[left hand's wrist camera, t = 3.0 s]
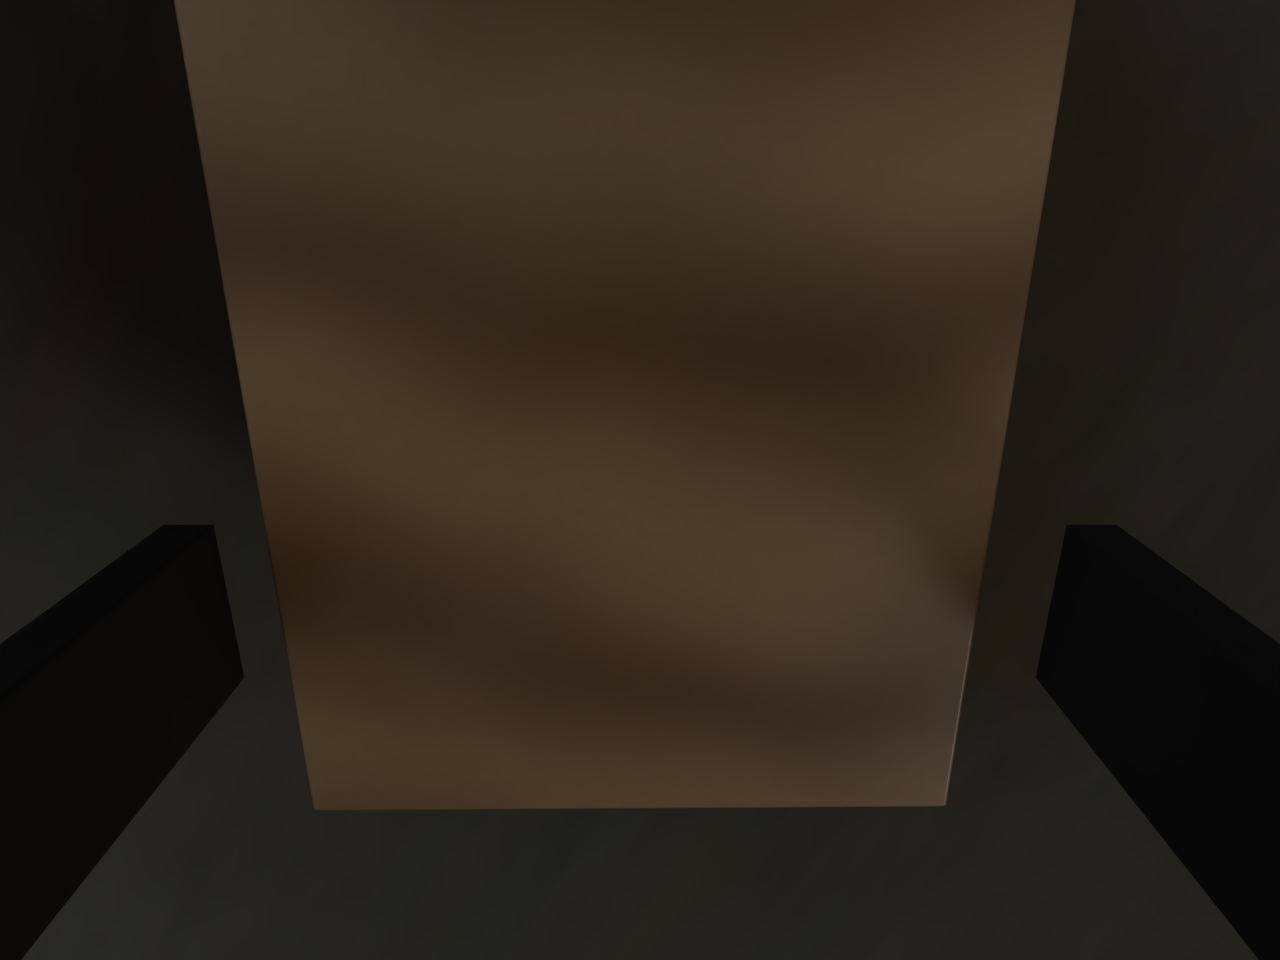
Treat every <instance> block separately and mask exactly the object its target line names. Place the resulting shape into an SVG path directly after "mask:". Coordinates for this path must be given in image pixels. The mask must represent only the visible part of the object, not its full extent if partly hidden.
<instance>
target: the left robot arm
mask: <svg viewBox="0 0 1280 960" xmlns="http://www.w3.org/2000/svg"><path fill="white" fill-rule="evenodd" d="M243 678H244V674H243V669H242V664H241V659H240V654H239V649H238V645H237V640H236V635H235V630H234V625H233V620H232V615H231V610H230V605H229V600H228V595H227V590H226V585H225V580H224V575H223V571H222V566H221V561H220V556H219V551H218V546H217V541H216V536H215V531H214V526H213V525H163V526H161V527H160V528H159V529H157V530H156V531H155V532H153V533H152V534H151V535H149V536H148V537H146V538H145V539H144V540H142V541H141V542H140V543H138V544H137V545H135V546H134V547H133V548H131V549H130V550H129V551H127V552H126V553H125V554H123V555H122V556H120V557H119V558H118V559H116V560H115V561H114V562H112V563H111V564H109V565H108V566H107V567H105V568H104V569H103V570H101V571H100V572H99V573H97V574H96V575H94V576H93V577H92V578H90V579H89V580H88V581H86V582H85V583H83V584H82V585H81V586H79V587H78V588H77V589H75V590H74V591H73V592H71V593H70V594H68V595H67V596H66V597H64V598H63V599H62V600H60V601H59V602H57V603H56V604H55V605H53V606H52V607H51V608H49V609H48V610H47V611H45V612H44V613H42V614H41V615H40V616H38V617H37V618H36V619H34V620H33V621H31V622H30V623H29V624H27V625H26V626H25V627H23V628H22V629H21V630H19V631H18V632H16V633H15V634H14V635H12V636H11V637H10V638H8V639H7V640H5V641H4V642H3V643H1V644H0V960H21V959H22V958H23V957H24V955H25V954H26V953H27V952H28V950H29V949H30V948H31V946H32V945H33V944H34V943H35V941H36V940H37V939H38V938H39V936H40V935H41V934H42V933H43V931H44V930H45V929H46V927H47V926H48V925H49V924H50V922H51V921H52V920H53V919H54V917H55V916H56V915H57V914H58V912H59V911H60V910H61V908H62V907H63V906H64V905H65V903H66V902H67V901H68V900H69V898H70V897H71V896H72V895H73V893H74V892H75V891H76V890H77V888H78V887H79V886H80V884H81V883H82V882H83V881H84V879H85V878H86V877H87V876H88V874H89V873H90V872H91V871H92V869H93V868H94V867H95V865H96V864H97V863H98V862H99V860H100V859H101V858H102V857H103V855H104V854H105V853H106V852H107V850H108V849H109V848H110V847H111V845H112V844H113V843H114V841H115V840H116V839H117V838H118V836H119V835H120V834H121V833H122V831H123V830H124V829H125V828H126V826H127V825H128V824H129V822H130V821H131V820H132V819H133V817H134V816H135V815H136V814H137V812H138V811H139V810H140V809H141V807H142V806H143V805H144V804H145V802H146V801H147V800H148V798H149V797H150V796H151V795H152V793H153V792H154V791H155V790H156V788H157V787H158V786H159V785H160V783H161V782H162V781H163V779H164V778H165V777H166V776H167V774H168V773H169V772H170V771H171V769H172V768H173V767H174V766H175V764H176V763H177V762H178V761H179V759H180V758H181V757H182V755H183V754H184V753H185V752H186V750H187V749H188V748H189V747H190V745H191V744H192V743H193V742H194V740H195V739H196V738H197V736H198V735H199V734H200V733H201V731H202V730H203V729H204V728H205V726H206V725H207V724H208V723H209V721H210V720H211V719H212V718H213V716H214V715H215V714H216V712H217V711H218V710H219V709H220V707H221V706H222V705H223V704H224V702H225V701H226V700H227V699H228V697H229V696H230V695H231V693H232V692H233V691H234V690H235V688H236V687H237V686H238V685H239V683H240V682H241V681H242V680H243ZM1036 678H1037V680H1038V681H1039V682H1040V683H1041V685H1042V686H1043V687H1044V688H1045V690H1046V691H1047V692H1048V693H1049V695H1050V696H1051V697H1052V699H1053V700H1054V701H1055V702H1056V704H1057V705H1058V706H1059V707H1060V709H1061V710H1062V711H1063V712H1064V714H1065V715H1066V716H1067V718H1068V719H1069V720H1070V721H1071V723H1072V724H1073V725H1074V726H1075V728H1076V729H1077V730H1078V731H1079V733H1080V734H1081V735H1082V736H1083V738H1084V739H1085V740H1086V742H1087V743H1088V744H1089V745H1090V747H1091V748H1092V749H1093V750H1094V752H1095V753H1096V754H1097V755H1098V757H1099V758H1100V759H1101V761H1102V762H1103V763H1104V764H1105V766H1106V767H1107V768H1108V769H1109V771H1110V772H1111V773H1112V774H1113V776H1114V777H1115V778H1116V779H1117V781H1118V782H1119V783H1120V785H1121V786H1122V787H1123V788H1124V790H1125V791H1126V792H1127V793H1128V795H1129V796H1130V797H1131V798H1132V800H1133V801H1134V802H1135V804H1136V805H1137V806H1138V807H1139V809H1140V810H1141V811H1142V812H1143V814H1144V815H1145V816H1146V817H1147V819H1148V820H1149V821H1150V822H1151V824H1152V825H1153V826H1154V828H1155V829H1156V830H1157V831H1158V833H1159V834H1160V835H1161V836H1162V838H1163V839H1164V840H1165V841H1166V843H1167V844H1168V845H1169V847H1170V848H1171V849H1172V850H1173V852H1174V853H1175V854H1176V855H1177V857H1178V858H1179V859H1180V860H1181V862H1182V863H1183V864H1184V865H1185V867H1186V868H1187V869H1188V871H1189V872H1190V873H1191V874H1192V876H1193V877H1194V878H1195V879H1196V881H1197V882H1198V883H1199V884H1200V886H1201V887H1202V888H1203V890H1204V891H1205V892H1206V893H1207V895H1208V896H1209V897H1210V898H1211V900H1212V901H1213V902H1214V903H1215V905H1216V906H1217V907H1218V908H1219V910H1220V911H1221V912H1222V914H1223V915H1224V916H1225V917H1226V919H1227V920H1228V921H1229V922H1230V924H1231V925H1232V926H1233V927H1234V929H1235V930H1236V931H1237V933H1238V934H1239V935H1240V936H1241V938H1242V939H1243V940H1244V941H1245V943H1246V944H1247V945H1248V946H1249V948H1250V949H1251V950H1252V952H1253V953H1254V954H1255V955H1256V957H1257V958H1258V959H1259V960H1280V644H1279V643H1277V642H1276V641H1275V640H1273V639H1272V638H1270V637H1269V636H1268V635H1266V634H1265V633H1264V632H1262V631H1261V630H1259V629H1258V628H1257V627H1255V626H1254V625H1253V624H1251V623H1250V622H1249V621H1247V620H1246V619H1244V618H1243V617H1242V616H1240V615H1239V614H1238V613H1236V612H1235V611H1233V610H1232V609H1231V608H1229V607H1228V606H1227V605H1225V604H1224V603H1223V602H1221V601H1220V600H1218V599H1217V598H1216V597H1214V596H1213V595H1212V594H1210V593H1209V592H1207V591H1206V590H1205V589H1203V588H1202V587H1201V586H1199V585H1198V584H1197V583H1195V582H1194V581H1192V580H1191V579H1190V578H1188V577H1187V576H1186V575H1184V574H1183V573H1181V572H1180V571H1179V570H1177V569H1176V568H1175V567H1173V566H1172V565H1171V564H1169V563H1168V562H1166V561H1165V560H1164V559H1162V558H1161V557H1160V556H1158V555H1157V554H1155V553H1154V552H1153V551H1151V550H1150V549H1149V548H1147V547H1146V546H1145V545H1143V544H1142V543H1140V542H1139V541H1138V540H1136V539H1135V538H1134V537H1132V536H1131V535H1129V534H1128V533H1127V532H1125V531H1124V530H1123V529H1121V528H1120V527H1119V526H1117V525H1067V526H1066V531H1065V536H1064V541H1063V546H1062V551H1061V556H1060V561H1059V566H1058V571H1057V575H1056V580H1055V585H1054V590H1053V595H1052V600H1051V605H1050V610H1049V615H1048V620H1047V625H1046V630H1045V635H1044V640H1043V645H1042V649H1041V654H1040V659H1039V664H1038V669H1037V674H1036Z"/></svg>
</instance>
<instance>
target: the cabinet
mask: <svg viewBox="0 0 1280 960" xmlns="http://www.w3.org/2000/svg"><path fill="white" fill-rule="evenodd" d="M1075 3H1076V0H174V4H175V10H176V16H177V22H178V28H179V33H180V39H181V45H182V51H183V57H184V62H185V68H186V74H187V80H188V85H189V91H190V97H191V103H192V109H193V114H194V120H195V126H196V132H197V137H198V143H199V149H200V155H201V161H202V166H203V172H204V178H205V184H206V189H207V195H208V201H209V207H210V213H211V218H212V224H213V230H214V236H215V242H216V247H217V253H218V259H219V265H220V270H221V276H222V282H223V288H224V294H225V299H226V305H227V311H228V317H229V322H230V328H231V334H232V340H233V346H234V351H235V357H236V363H237V369H238V374H239V380H240V386H241V392H242V398H243V403H244V409H245V415H246V421H247V427H248V432H249V438H250V444H251V450H252V455H253V461H254V467H255V473H256V479H257V484H258V490H259V496H260V502H261V507H262V513H263V519H264V525H265V531H266V536H267V542H268V548H269V554H270V559H271V565H272V571H273V577H274V583H275V588H276V594H277V600H278V606H279V612H280V617H281V623H282V629H283V635H284V640H285V646H286V652H287V658H288V664H289V669H290V675H291V681H292V687H293V692H294V698H295V704H296V710H297V716H298V721H299V727H300V733H301V739H302V744H303V750H304V756H305V762H306V768H307V773H308V779H309V785H310V791H311V796H312V802H313V808H314V809H315V810H443V809H600V808H757V807H913V806H945V805H946V801H947V795H948V788H949V782H950V776H951V770H952V764H953V757H954V751H955V745H956V739H957V733H958V727H959V720H960V714H961V708H962V702H963V696H964V689H965V683H966V677H967V671H968V665H969V658H970V652H971V646H972V640H973V634H974V628H975V621H976V615H977V609H978V603H979V597H980V590H981V584H982V578H983V572H984V566H985V559H986V553H987V547H988V541H989V535H990V529H991V522H992V516H993V510H994V504H995V498H996V491H997V485H998V479H999V473H1000V467H1001V461H1002V454H1003V448H1004V442H1005V436H1006V430H1007V423H1008V417H1009V411H1010V405H1011V399H1012V392H1013V386H1014V380H1015V374H1016V368H1017V362H1018V355H1019V349H1020V343H1021V337H1022V331H1023V324H1024V318H1025V312H1026V306H1027V300H1028V294H1029V287H1030V281H1031V275H1032V269H1033V263H1034V256H1035V250H1036V244H1037V238H1038V232H1039V225H1040V219H1041V213H1042V207H1043V201H1044V195H1045V188H1046V182H1047V176H1048V170H1049V164H1050V157H1051V151H1052V145H1053V139H1054V133H1055V126H1056V120H1057V114H1058V108H1059V102H1060V96H1061V89H1062V83H1063V77H1064V71H1065V65H1066V58H1067V52H1068V46H1069V40H1070V34H1071V28H1072V21H1073V15H1074V9H1075Z"/></svg>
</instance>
